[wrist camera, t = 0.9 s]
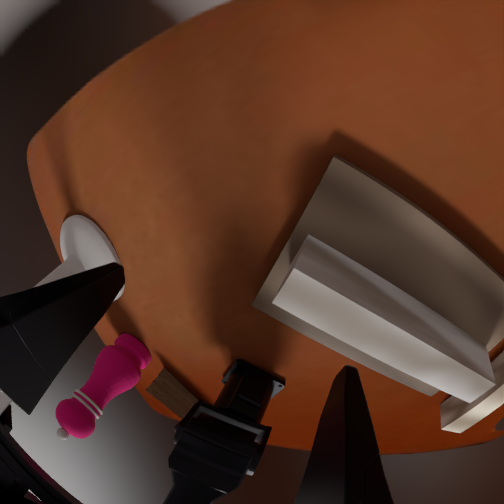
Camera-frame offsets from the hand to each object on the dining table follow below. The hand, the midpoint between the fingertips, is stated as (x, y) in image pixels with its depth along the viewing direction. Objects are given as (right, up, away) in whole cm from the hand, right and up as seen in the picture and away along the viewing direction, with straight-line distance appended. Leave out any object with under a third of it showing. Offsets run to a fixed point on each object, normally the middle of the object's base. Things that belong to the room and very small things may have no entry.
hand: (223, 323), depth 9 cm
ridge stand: (+14, -2, +11) cm, 17 cm away
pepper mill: (-17, -12, +30) cm, 37 cm away
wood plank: (-8, -21, +31) cm, 39 cm away
